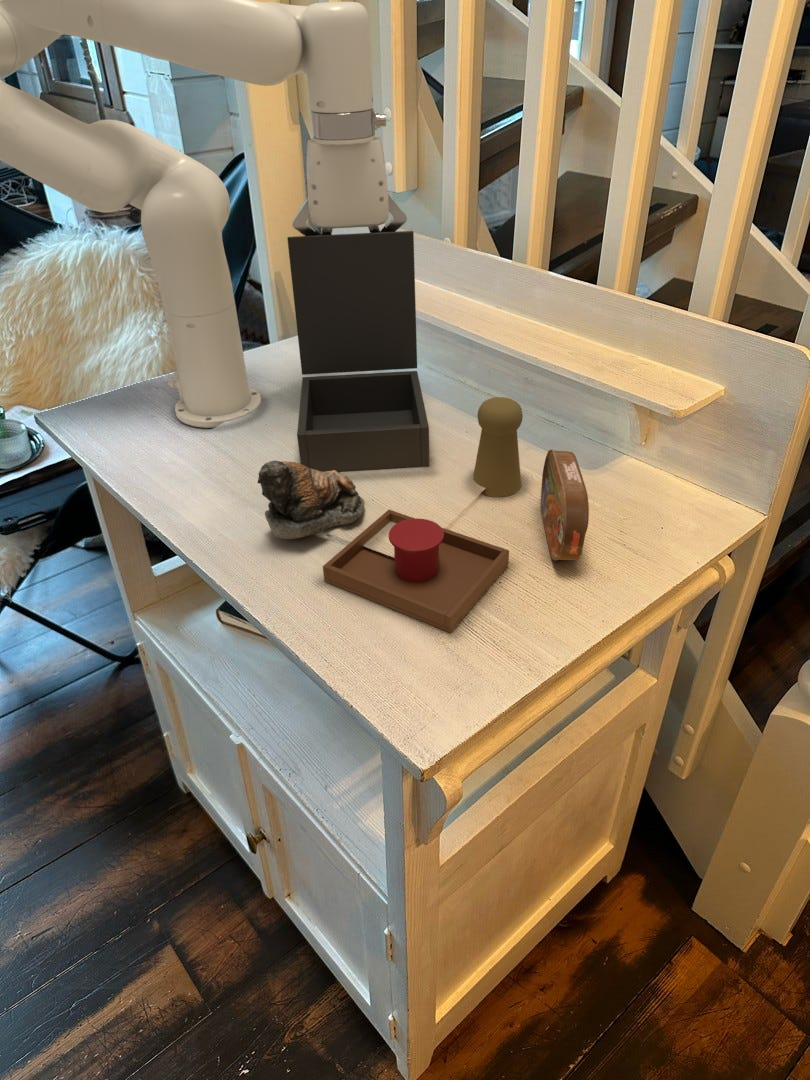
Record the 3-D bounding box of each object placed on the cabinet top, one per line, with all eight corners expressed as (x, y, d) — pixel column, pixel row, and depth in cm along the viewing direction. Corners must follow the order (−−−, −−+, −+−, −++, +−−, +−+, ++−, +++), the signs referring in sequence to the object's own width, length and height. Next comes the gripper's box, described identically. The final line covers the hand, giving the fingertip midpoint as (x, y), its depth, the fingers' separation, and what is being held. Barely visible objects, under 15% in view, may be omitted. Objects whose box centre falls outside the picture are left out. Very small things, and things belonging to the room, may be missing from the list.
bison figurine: (347, 498, 92) (340, 424, 86) (378, 525, 87) (374, 448, 81) (257, 533, 86) (243, 456, 80) (285, 563, 81) (273, 484, 76)
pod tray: (324, 581, 79) (322, 566, 78) (389, 523, 87) (388, 509, 86) (450, 633, 72) (450, 617, 71) (508, 565, 80) (509, 550, 79)
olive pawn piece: (519, 499, 90) (525, 415, 84) (469, 494, 91) (471, 412, 85) (523, 473, 95) (529, 392, 89) (475, 469, 96) (477, 389, 90)
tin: (538, 498, 90) (543, 435, 86) (564, 497, 90) (571, 435, 85) (554, 577, 78) (561, 509, 73) (584, 577, 78) (594, 509, 73)
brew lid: (413, 231, 96) (410, 225, 101) (287, 237, 96) (289, 231, 100) (417, 368, 105) (414, 357, 110) (302, 374, 105) (303, 363, 109)
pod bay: (429, 473, 96) (428, 427, 92) (302, 480, 95) (297, 434, 91) (418, 412, 110) (417, 370, 106) (307, 419, 109) (302, 377, 105)
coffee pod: (379, 574, 79) (377, 539, 76) (408, 547, 82) (407, 512, 80) (426, 592, 76) (425, 556, 74) (453, 562, 80) (453, 528, 77)
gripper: (410, 119, 95) (414, 267, 106) (274, 125, 94) (291, 274, 105) (416, 128, 89) (419, 283, 100) (270, 135, 88) (289, 291, 99)
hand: (353, 277), depth 102 cm, fingers closed on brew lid, 5 cm apart
